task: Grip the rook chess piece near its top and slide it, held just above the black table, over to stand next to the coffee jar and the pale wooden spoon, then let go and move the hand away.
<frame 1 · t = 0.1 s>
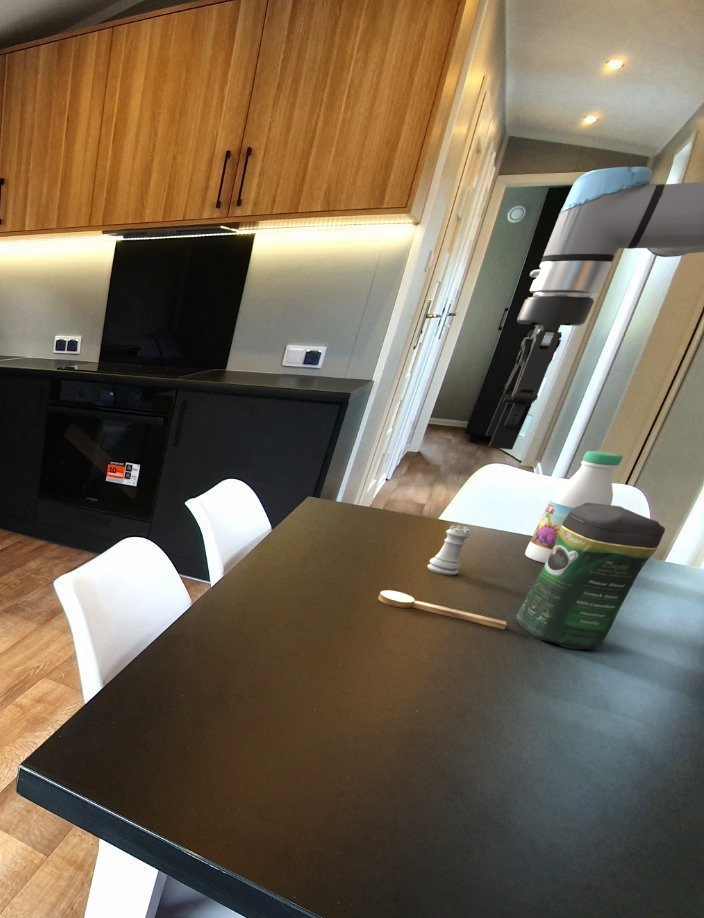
hand: (497, 442, 102), 22 cm above the table, tool pointing down, fingers open, 13 cm apart
rook chess piece: (441, 572, 111), on the table
wooden spoon: (431, 610, 96), on the table
milk bottle: (550, 561, 118), on the table
coffee jar: (553, 636, 90), on the table
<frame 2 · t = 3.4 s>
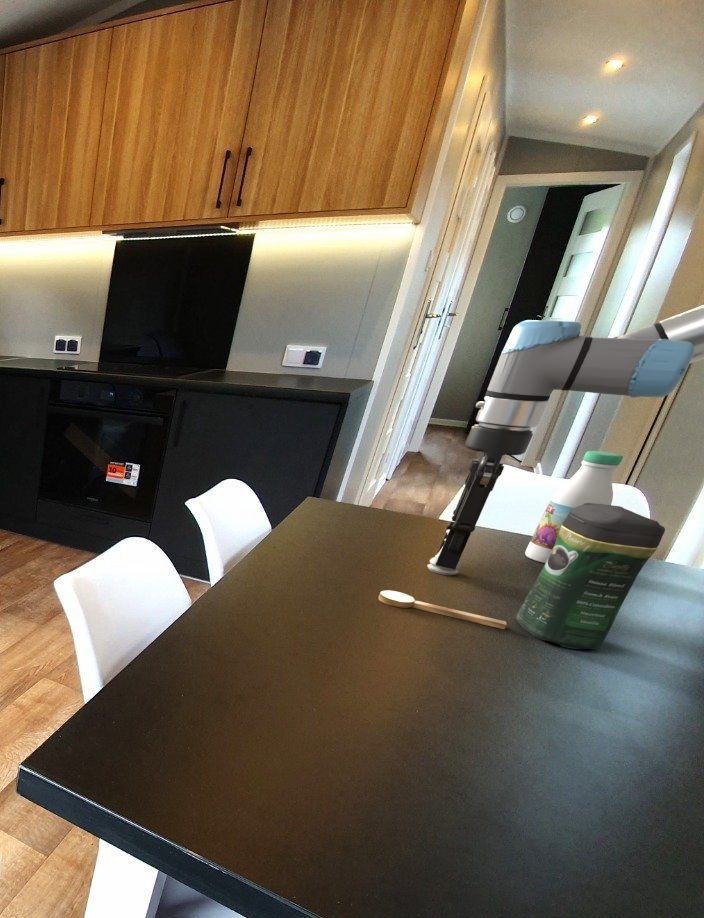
hand: (445, 562, 110), 2 cm above the table, tool pointing down, fingers closed on rook chess piece, 4 cm apart
rook chess piece: (441, 572, 111), on the table, touching gripper
everything else where it was.
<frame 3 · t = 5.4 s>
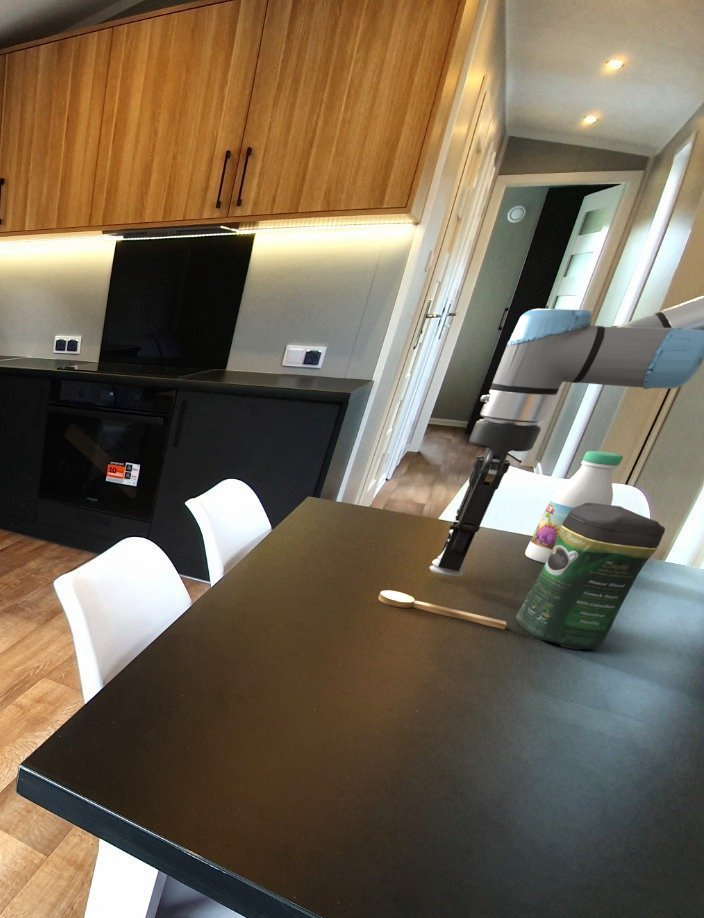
hand: (448, 564, 105), 3 cm above the table, tool pointing down, fingers closed on rook chess piece, 4 cm apart
rook chess piece: (444, 574, 106), point 1 cm above the table, touching gripper
everything else where it was.
when the fingers open (2 cm above the table, at t = 7.9 s): rook chess piece stays where it is, on the table.
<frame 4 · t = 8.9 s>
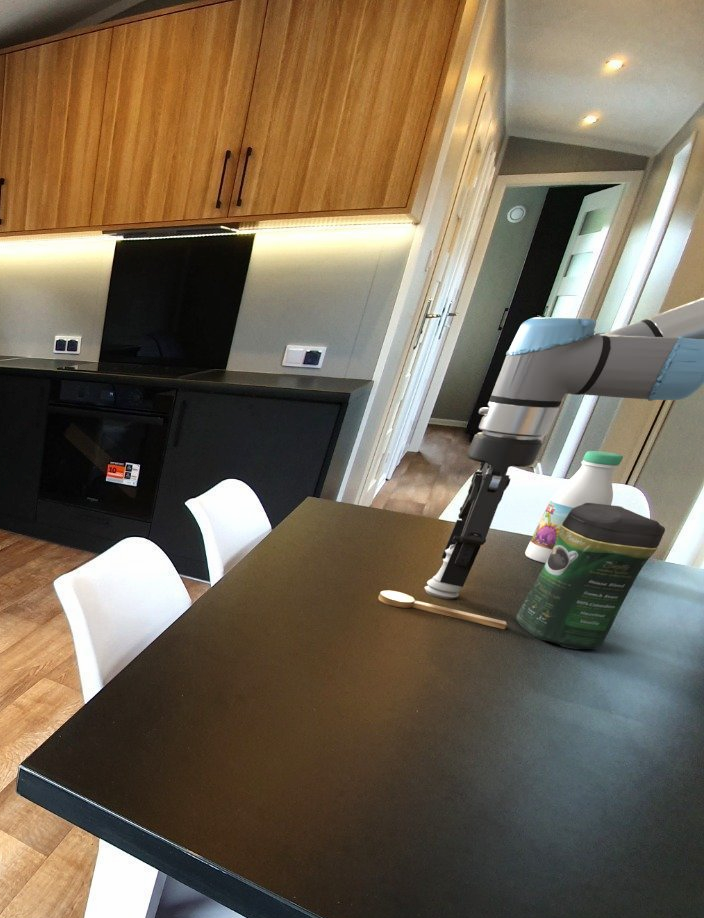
hand: (451, 571, 100), 4 cm above the table, tool pointing down, fingers open, 13 cm apart
rook chess piece: (439, 595, 102), on the table
everything else where it was.
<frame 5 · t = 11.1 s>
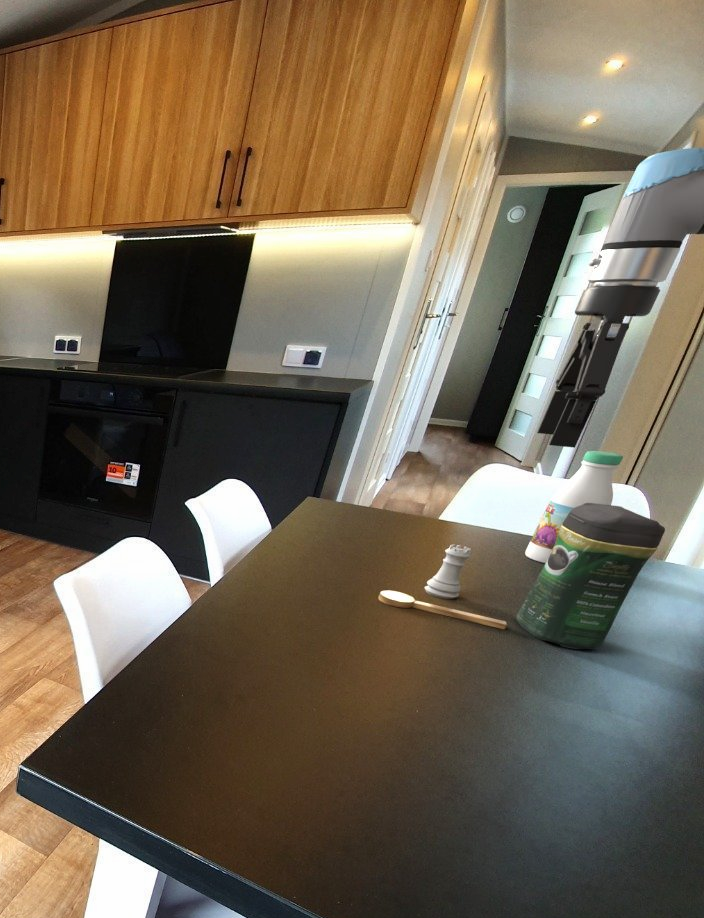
hand: (554, 440, 97), 24 cm above the table, tool pointing down, fingers open, 13 cm apart
nothing on the table moved.
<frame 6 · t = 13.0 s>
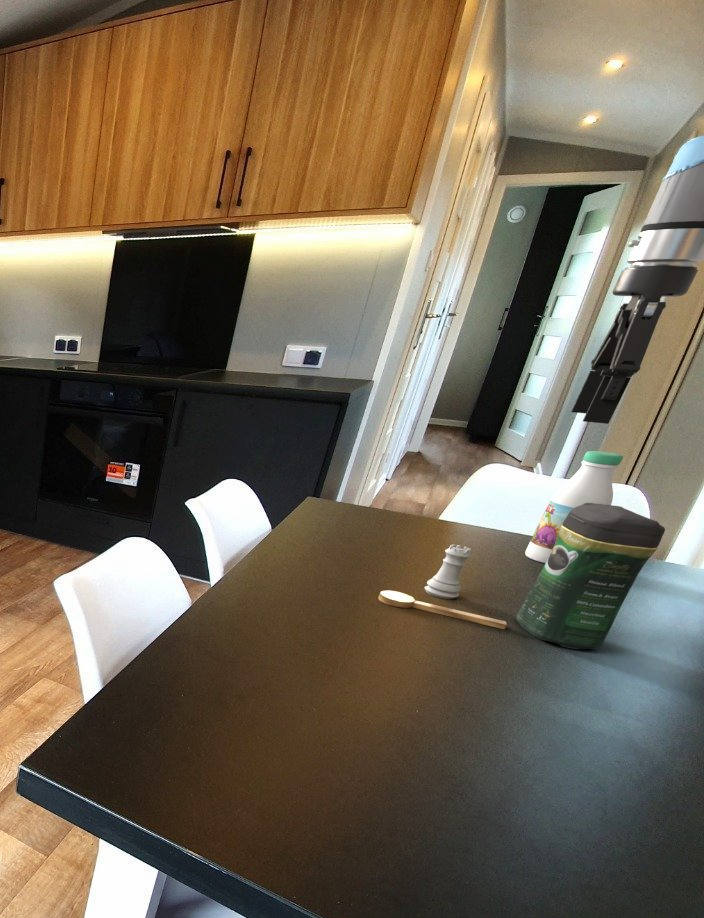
hand: (588, 417, 100), 27 cm above the table, tool pointing down, fingers open, 13 cm apart
nothing on the table moved.
at the end: rook chess piece 14.8 cm from the coffee jar (horizontally); rook chess piece inside the target area (0.5 cm from its centre), on the table; rook chess piece tilted 0° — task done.
